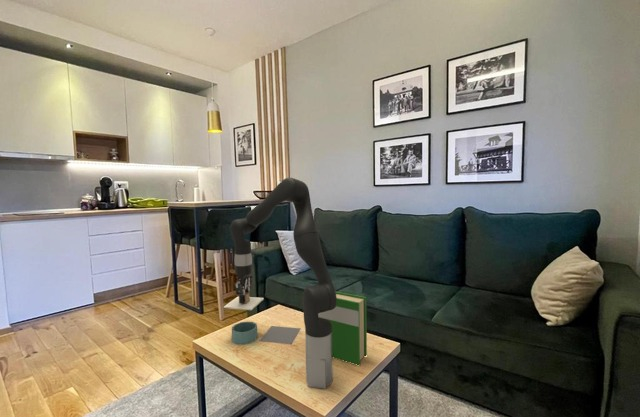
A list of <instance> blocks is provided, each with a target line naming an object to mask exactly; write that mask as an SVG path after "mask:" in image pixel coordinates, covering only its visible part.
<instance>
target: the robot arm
mask: <svg viewBox="0 0 640 417" xmlns="http://www.w3.org/2000/svg"><path fill="white" fill-rule="evenodd" d="M309 190H310V189H309V187H308V184H306V183H305V182H304V181H302V180H300V179H296V178H293V177H286V178H284V179H283V180H281V181H280V182H279V183H278V184H277V185H276V187H274V189H273V190H272V191H271V192H270V193H269V194H268V195H267V196H266V197H265V198H264V199H263V200H262V201H261V202H260V203H259V204H257V205H256V206H255V207H254V208H252V209H251V210H249V211H248V212H247V213H246V216H245V217H244V218H237V219H234V220H232V222H231V224H230V227H229V228H230V229H229V230H230V234H231V238H232V241H233V243H234V275H236V276H237V280H236V281H237V282H234V283H233V288H234V290H235V293H236V295H238V296H239V298H240V303H245V295H244V294H245V292H250V290H251V289H252V287H253V279H254V278H253V275H251V274H253V257H252V256H253V255H252V242H251V240H249V239H246V238H245V235H247V234H248V235H249V234H251V233H253V232H254V231H255V230H256V229H257V227H258V226H259V225H260V224H262V223H264V222H266V221H267V220H268V219H269V218H270V217H271V215H272V214H273V212H274V210H275V208H276V207H277V206H278V205H279V204H281V203H284V202H289V203H292V205H293V206H294V209H295V214H296V220H295V224H294V228H293V234H292V235H293V241H294V245H295V250H296V252H297V255H298V256H299V257H300V258H301V259H302V261H303V262H304V263H305V264H306V265H307V266H308V267H309V268H310V269H311V270H312V272H313V274H314V275H315V278H316V281H317V283H318V284H315V285H310V286H306V287H305V288H304V289H303V293H302V309H303V323H304V329H305V331H304V333H305V374H306V375H305V377H306V378H305V381H306V383H307V387H308V388H316V389H325V390H326V389H327V387H329V386H330V384H332V382H333V379H334V378H333V376H334V375H333V373H334V372H333V371H334V370H333V357H332V324H331V322H330V321H329V320H327V319H324V318H319V317H318V313H322V312H325V311H329V310H332V309H334V308H335V307H336V304H337V298H336V293H335V291H336V290H335V286H334V284H333V280H332V277H331V275H330V272H329V269H328V266H327V263H326V260H325V256H324V252H323V248H322V245H321V240H320V236H319V232H318V230H317V225H316V222H315V221H316V220H315V218H314V214H313V213H314V212H313V208H312V204H311V203H312V202H311V196H310V191H309Z"/></svg>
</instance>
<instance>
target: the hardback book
mask: <svg viewBox="0 0 640 417" xmlns="http://www.w3.org/2000/svg"><path fill="white" fill-rule="evenodd" d="M335 293H336V298H337V304H336V307H335V308H334V309H332V310H329V311H325V312H322V313H319V318H324V319H327V320H329V321H330V322H331V324H332V358H333V357H334V358H333V359H336V358H337V359H336V360H339V359H340V360H339V361H342V360H344V361H343V362H345V361H347V362H346V363H348V362H351V363H354V364H357V365H359V364H360V365H361V361H362V359H363V358H365V357H364V356H366V355H367V354H368V352H367V351H368V346H367V345H368V344H367V342H368V339H367V333H368V332H367V329H368V328H367V321H368V320H367V297H366V296H362V295H356V294H352V293H346V292H341V291H336V290H335ZM367 356H368V355H367ZM351 363H350V364H351ZM354 364H353V365H354ZM357 365H356V366H357Z"/></svg>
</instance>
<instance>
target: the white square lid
mask: <svg viewBox="0 0 640 417" xmlns="http://www.w3.org/2000/svg"><path fill="white" fill-rule="evenodd" d="M244 295H245V303H240V298H239V295H238V296H237V297H235V298H234V299H232V300H231V301H229V302H228V303H227V304H225V305H224V306H223V309H229V310H230V309H232V310H243V311H244V310H245V311H246V310H247V311H253V309H255V308H256V307H257V306H258V305H260V303H261V302H262V301H264V300H265V298H264V297H256V296H255V297H254V296H253V297H252V296H250V291H249V292H245V294H244Z"/></svg>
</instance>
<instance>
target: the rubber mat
mask: <svg viewBox="0 0 640 417" xmlns="http://www.w3.org/2000/svg"><path fill="white" fill-rule="evenodd" d="M301 330H302V328H301V327H300V328H299V327H290V326H279V325H278V326H276V325H271V326H270V327H269V328H268V329H267V331H266V332H265V333H264V335H262V337H261V338H260V339H259V342H262V343H275V344H284V345H292V344H293V343H294V341H295V340H296V338H297V336H298V335H299V332H301Z"/></svg>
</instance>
